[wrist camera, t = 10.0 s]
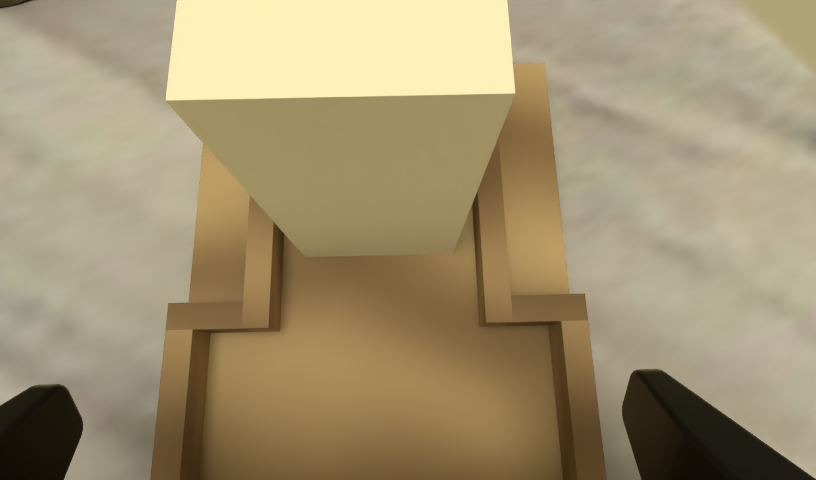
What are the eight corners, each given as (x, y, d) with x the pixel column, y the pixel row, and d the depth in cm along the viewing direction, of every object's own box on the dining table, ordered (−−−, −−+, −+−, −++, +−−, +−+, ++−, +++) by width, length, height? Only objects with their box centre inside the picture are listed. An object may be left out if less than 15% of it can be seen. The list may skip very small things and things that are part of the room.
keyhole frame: (597, 593, 15) (622, 624, 13) (167, 605, 14) (134, 637, 13) (541, 68, 19) (555, 38, 17) (214, 75, 19) (194, 45, 17)
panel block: (452, 253, 17) (515, 92, 7) (305, 257, 17) (165, 101, 7) (447, 145, 18) (496, -124, 8) (308, 148, 18) (190, -119, 8)
